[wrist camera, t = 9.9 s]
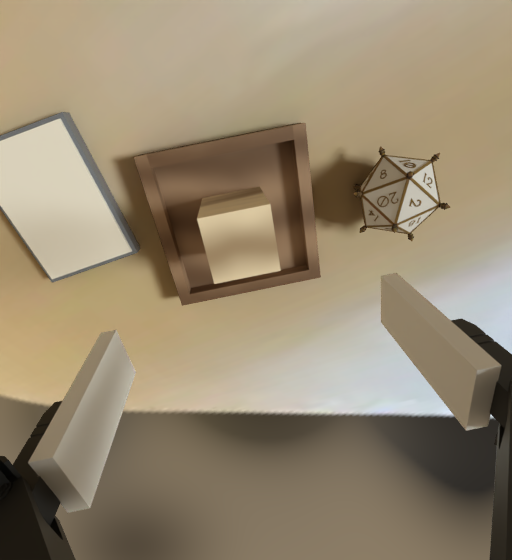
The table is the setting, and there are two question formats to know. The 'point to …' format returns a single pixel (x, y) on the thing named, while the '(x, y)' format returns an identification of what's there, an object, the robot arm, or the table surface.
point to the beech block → (238, 235)
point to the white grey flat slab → (60, 199)
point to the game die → (399, 194)
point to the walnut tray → (224, 179)
